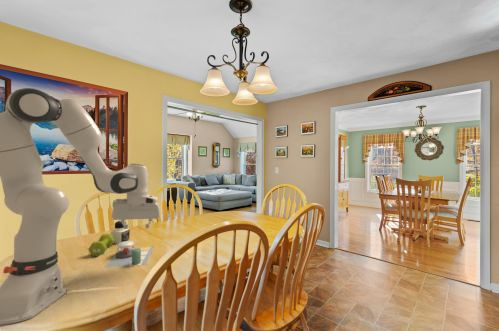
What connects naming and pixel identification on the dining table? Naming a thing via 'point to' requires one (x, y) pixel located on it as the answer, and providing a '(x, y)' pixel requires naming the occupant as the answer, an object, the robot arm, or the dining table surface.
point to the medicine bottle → (120, 233)
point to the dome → (125, 245)
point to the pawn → (136, 256)
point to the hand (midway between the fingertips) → (136, 228)
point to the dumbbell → (101, 245)
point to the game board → (129, 257)
